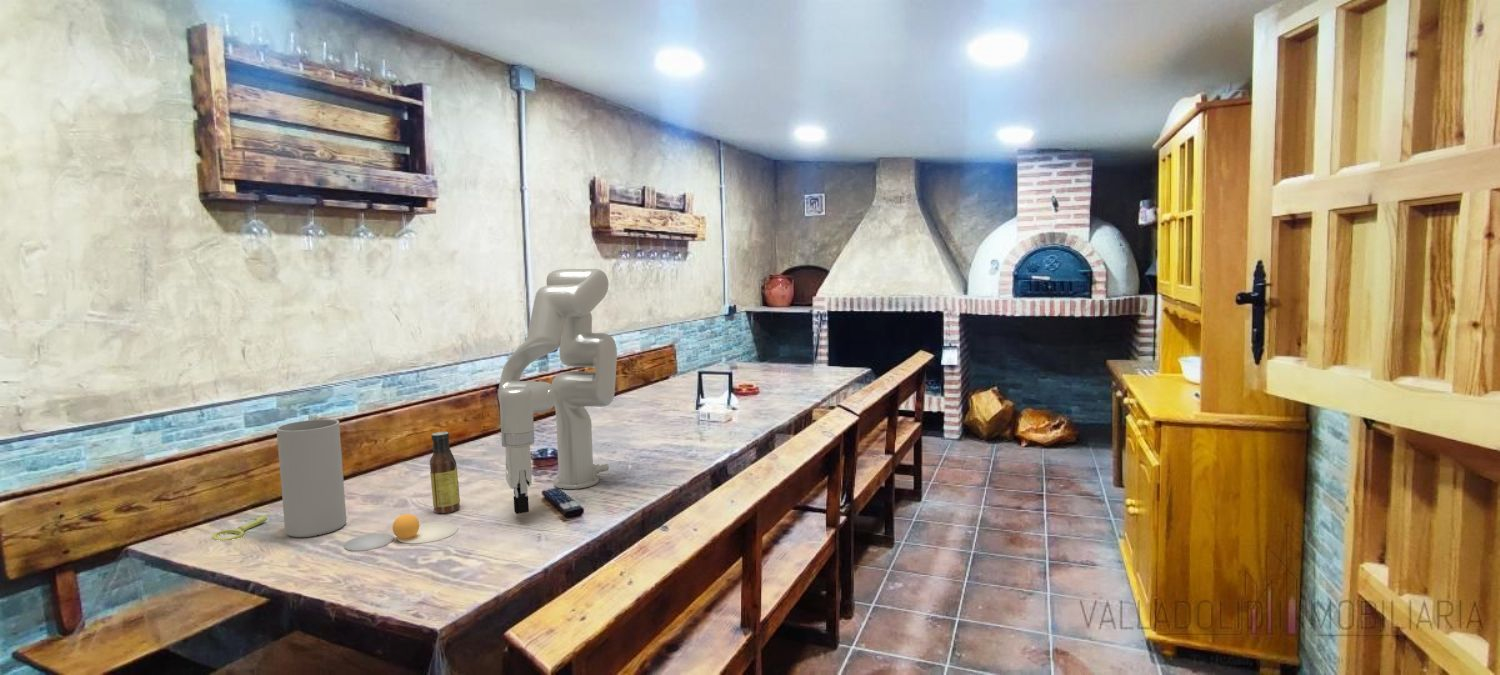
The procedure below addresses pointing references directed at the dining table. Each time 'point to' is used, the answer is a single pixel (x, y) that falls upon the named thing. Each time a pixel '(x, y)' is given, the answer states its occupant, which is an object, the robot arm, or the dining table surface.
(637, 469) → the dining table surface
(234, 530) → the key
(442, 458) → the sauce bottle
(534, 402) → the robot arm
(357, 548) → the disc
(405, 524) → the ball
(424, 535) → the disc
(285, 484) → the cylinder vase
